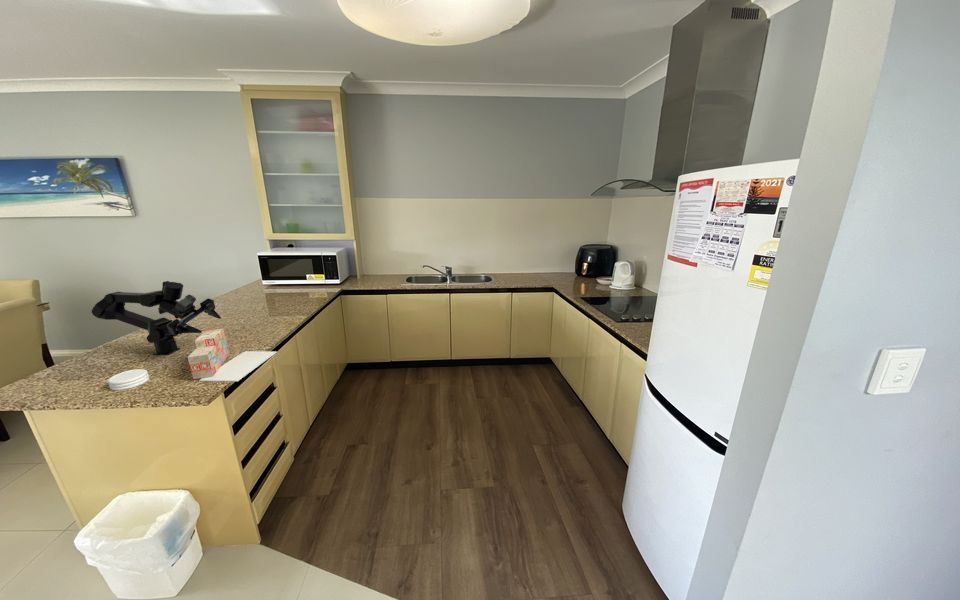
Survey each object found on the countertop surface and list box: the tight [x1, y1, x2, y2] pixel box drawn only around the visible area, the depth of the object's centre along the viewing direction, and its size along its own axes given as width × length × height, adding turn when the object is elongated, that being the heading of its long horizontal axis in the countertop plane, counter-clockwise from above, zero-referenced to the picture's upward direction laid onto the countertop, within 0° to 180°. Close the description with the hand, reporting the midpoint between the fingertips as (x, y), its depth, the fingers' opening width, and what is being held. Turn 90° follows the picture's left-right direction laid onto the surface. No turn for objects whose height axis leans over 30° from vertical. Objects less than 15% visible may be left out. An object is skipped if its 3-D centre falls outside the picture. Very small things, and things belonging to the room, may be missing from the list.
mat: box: [198, 350, 277, 383], centre depth 132 cm, size 14×25×1 cm, turn 1°
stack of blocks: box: [187, 328, 231, 380], centre depth 129 cm, size 21×6×12 cm, turn 23°
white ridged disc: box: [107, 368, 150, 391], centre depth 117 cm, size 10×10×4 cm
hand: (211, 324), depth 136 cm, fingers open, 9 cm apart
